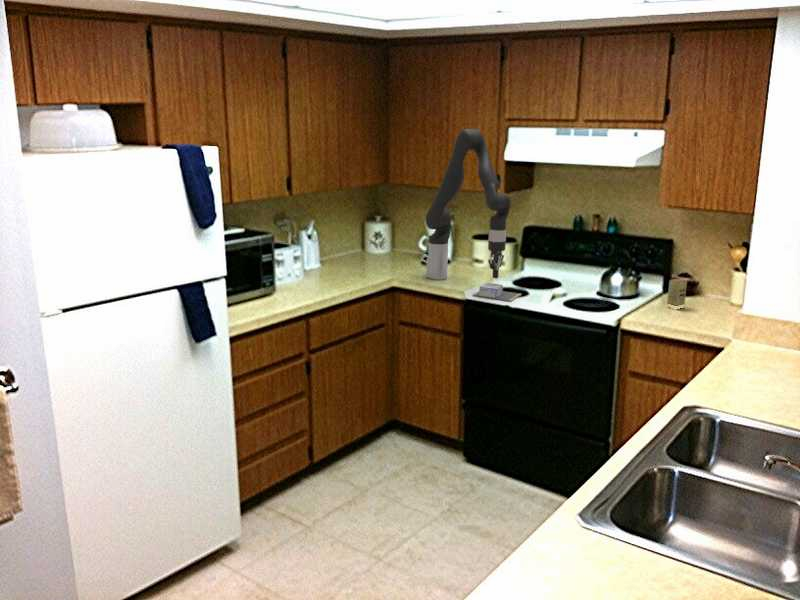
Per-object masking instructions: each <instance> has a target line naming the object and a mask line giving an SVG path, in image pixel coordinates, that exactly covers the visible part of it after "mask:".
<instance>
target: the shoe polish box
mask: <svg viewBox="0 0 800 600" xmlns="http://www.w3.org/2000/svg"><path fill="white" fill-rule="evenodd" d="M687 285H688V280H686V279H680V278H674V279H673V278H672V279H669V283H668V290H667V291H668V292H667V293H668V294H667V301H666V305H667V304H671V305H674V306H679V305H683V304H684V305H685V304H686V303H685V302H686V293H687Z"/></svg>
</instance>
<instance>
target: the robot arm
mask: <svg viewBox="0 0 800 600" xmlns="http://www.w3.org/2000/svg"><path fill="white" fill-rule="evenodd" d="M469 151H471V152H472V151H474V153H475V155H476V157H477V160H478V169H477V170H478V171H477V173H478V178H479V180H480V182H481V184H482V188H483V190H484V197H485V203H486V206H487V207H488V209H489V210H491V211H493V212H495V211H496V213H495V214H494V215H491V216H490V218H489V229H488V230H489V231H488V242H487V243H488V244H487V249H488V251H490V252H491V253H490V258H489V259H488V265H489V267H490V269H491V270H492V278H493V279H498V278H499V275H500V274H499V271H500V268H501V267H502V264H503V261H504V259H505V258H504V257H505V255H504V254H502V253H503V252H504V251H506V243H507V229H506V228H507V219H508V217H509V216H508V215H509V213H510V209H511V206H512V205H511V204H512V200H511V198H510V195H509V194H507V193H505V192H504V193H502V192H501V193H497V190H498V189H499V188H500V186H501V185H500V182H499V179H498V177H497V174H496V173H495V172H496V171H495V170H494V168H493V166H492V162H491V159H490V155H489V150H488V146H487V143H486V140H485V136H484V134H483V132H482V131H481V130H479V129H473V128H470V129H469V128H468V129H467V128H466V129H462V130H460V131H459V132H458V134H457V136H456V138H455V142H454V146H453V148H452V154H451V157H450V159H449V162H448V165H447V168H446V170H445V172H444V174H443V177H442V180H441V182H440V186H439V187H438V190H437V192H436V195H435V198H434V199H433V201H432V203H431V205H430V207H429V209H428V211H427V213H426V216H425V224H426V226H427V228H428V229H429V230H434V232H433V233H432V234H431V235H430V236H428V256H427V258H426V274H425V275H426V278H428V279H431V280H437V281H440V280H446V279H447V278H448V264H449V263H448V260H449V259H448V257H449V240H450V236H451V227H452V226H451V225H452V217H451V216H452V215H451V213H450V211H449V210H448V209H446V208H447V206H448V205H449V203H450V202H452V200H453V199H454V198H455V197H456V196H457V195H458V193H459V192H460V190H461V188H462V185H463V184H464V180H465V176H466V173H465V168H464V167H465V166H464V161H465V159H466V156H467V154H468V152H469Z"/></svg>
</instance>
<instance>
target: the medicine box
mask: <svg viewBox="0 0 800 600" xmlns="http://www.w3.org/2000/svg"><path fill="white" fill-rule="evenodd" d="M478 291H479V296H484V297H491V298H497V297H498V296H500V295H501V294H502V291H504V284H501V283H500V284H499V283H492V282H485V283H483V284H481V285H479V287H478Z"/></svg>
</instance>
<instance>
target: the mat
mask: <svg viewBox="0 0 800 600" xmlns="http://www.w3.org/2000/svg"><path fill="white" fill-rule="evenodd" d="M521 296H522V293H518V292H511V291H504V290H503V291H502V294H501V295H500V296H498V297H497V298H491V297H484V296H479V290H478V291H477V292H474V293H472V297H474V298H483V299H489V300H493V301H494V300H496V301H501V302H508V303H512V302H513V301H515V300H516V299H518V298H520V297H521Z"/></svg>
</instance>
